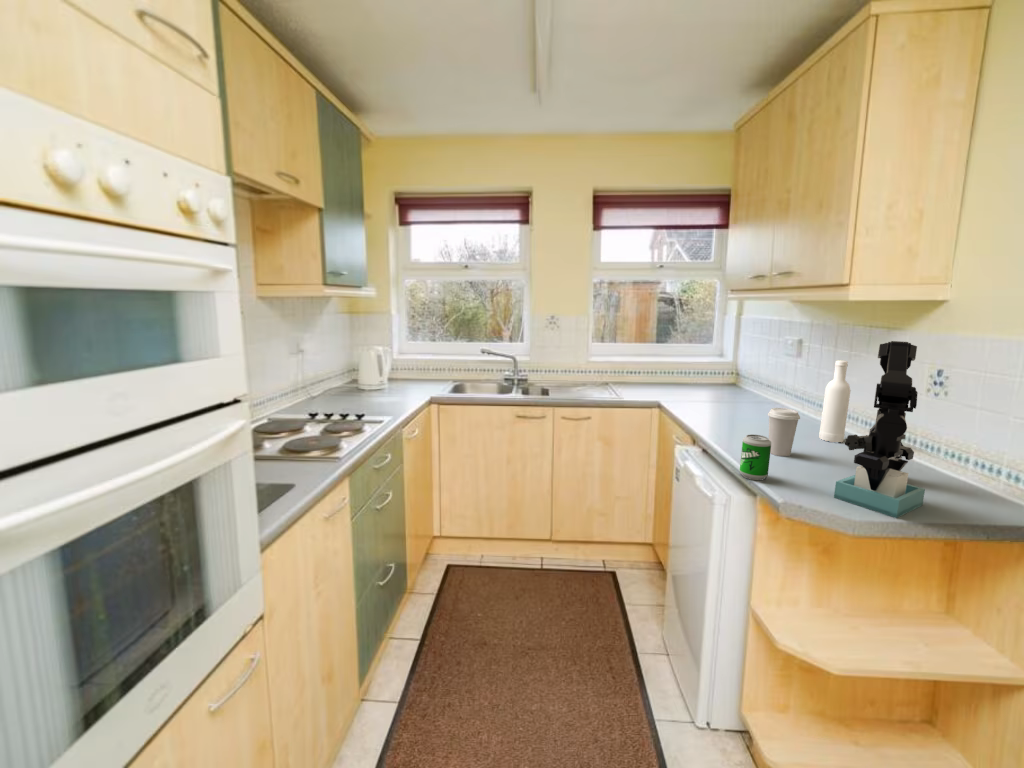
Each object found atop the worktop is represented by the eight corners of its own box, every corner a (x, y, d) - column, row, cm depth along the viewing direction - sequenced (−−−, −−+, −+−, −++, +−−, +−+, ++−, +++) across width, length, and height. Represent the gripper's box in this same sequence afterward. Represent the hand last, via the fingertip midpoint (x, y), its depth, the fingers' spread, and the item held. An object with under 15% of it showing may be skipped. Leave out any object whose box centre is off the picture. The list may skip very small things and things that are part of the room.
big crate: (861, 487, 137) (863, 471, 136) (922, 505, 125) (925, 488, 125) (833, 497, 129) (836, 481, 129) (896, 518, 118) (899, 500, 117)
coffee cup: (767, 456, 163) (772, 412, 160) (760, 448, 172) (765, 406, 169) (799, 459, 161) (805, 414, 158) (790, 450, 170) (795, 408, 167)
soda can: (758, 472, 148) (763, 433, 146) (772, 481, 140) (777, 441, 138) (734, 471, 147) (738, 433, 145) (746, 481, 140) (751, 440, 138)
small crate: (865, 484, 132) (868, 462, 131) (904, 495, 125) (908, 473, 124) (853, 488, 129) (856, 466, 128) (893, 500, 122) (897, 477, 121)
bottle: (823, 435, 189) (833, 359, 184) (846, 440, 183) (858, 361, 178) (815, 439, 184) (825, 360, 179) (838, 444, 178) (850, 362, 173)
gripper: (870, 418, 136) (862, 471, 138) (835, 426, 126) (827, 483, 129) (919, 427, 126) (909, 485, 129) (886, 437, 117) (876, 499, 119)
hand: (879, 487), depth 127 cm, fingers closed on small crate, 6 cm apart
